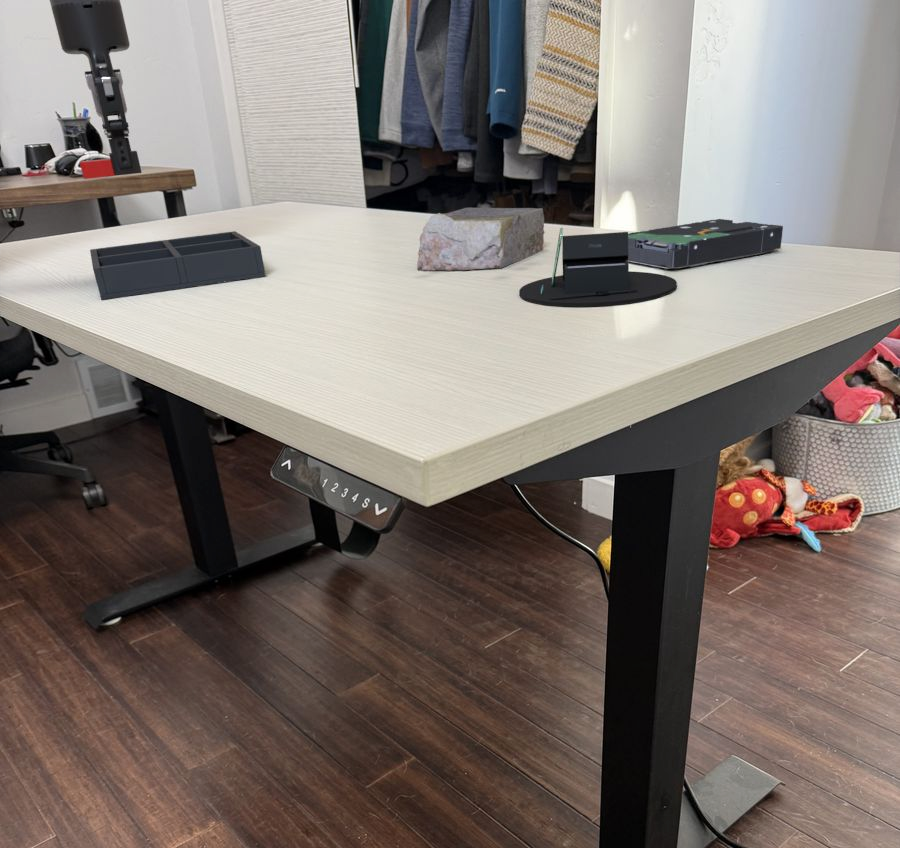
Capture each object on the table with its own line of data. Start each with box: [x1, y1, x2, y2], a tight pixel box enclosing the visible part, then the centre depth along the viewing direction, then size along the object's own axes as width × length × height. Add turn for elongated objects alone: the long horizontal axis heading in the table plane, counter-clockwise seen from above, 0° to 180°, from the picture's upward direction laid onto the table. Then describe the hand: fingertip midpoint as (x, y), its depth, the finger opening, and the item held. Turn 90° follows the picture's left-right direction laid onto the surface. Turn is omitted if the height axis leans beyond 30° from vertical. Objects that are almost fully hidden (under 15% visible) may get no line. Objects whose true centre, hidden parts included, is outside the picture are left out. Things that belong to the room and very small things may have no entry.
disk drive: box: [628, 218, 784, 270], centre depth 94 cm, size 10×3×15 cm
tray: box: [89, 230, 266, 301], centre depth 110 cm, size 19×19×4 cm
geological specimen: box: [416, 207, 545, 272], centre depth 103 cm, size 11×6×15 cm
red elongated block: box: [79, 150, 142, 180], centre depth 105 cm, size 7×3×2 cm, turn 111°
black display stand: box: [518, 227, 678, 308], centre depth 82 cm, size 15×15×6 cm
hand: (126, 171), depth 106 cm, fingers closed on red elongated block, 2 cm apart
